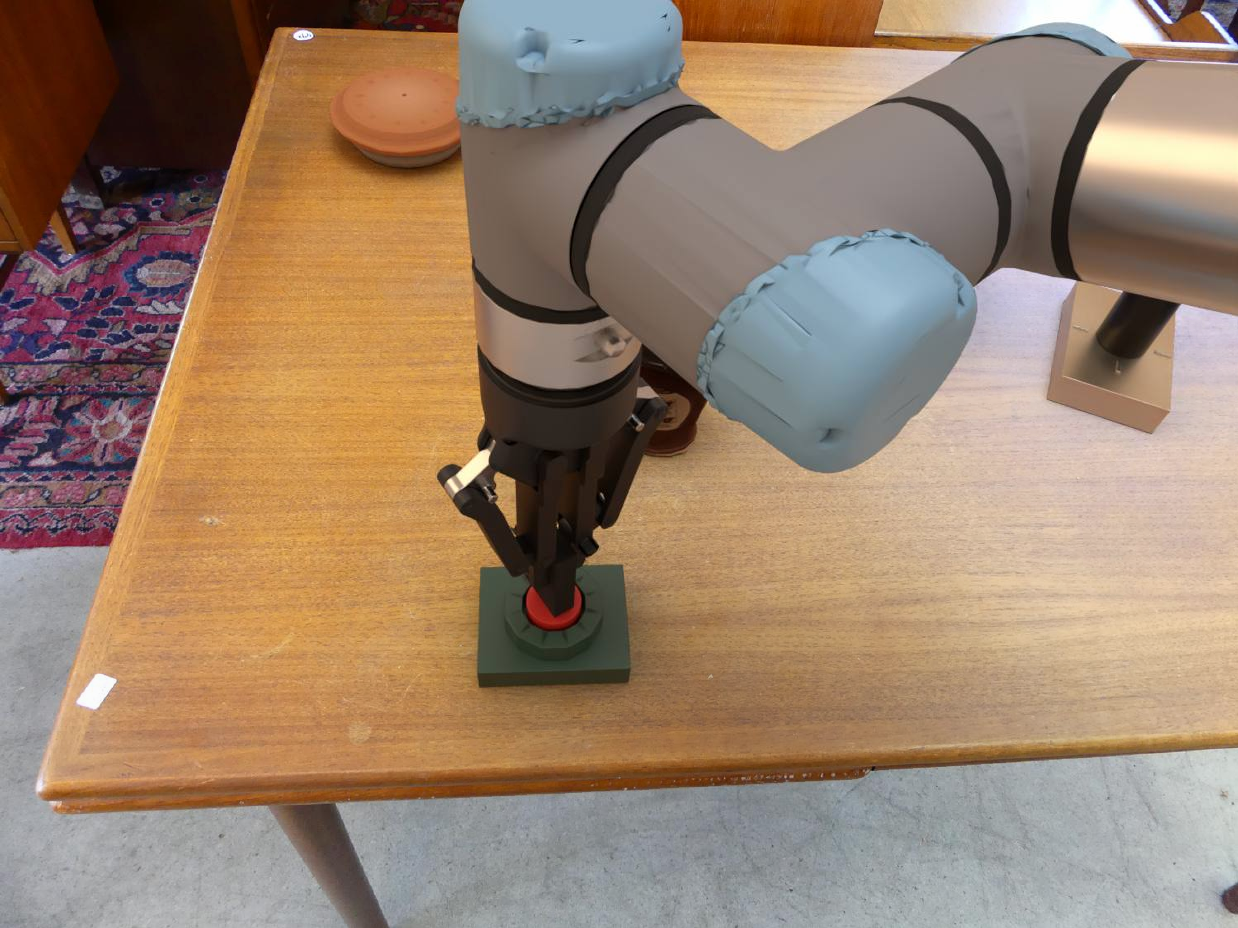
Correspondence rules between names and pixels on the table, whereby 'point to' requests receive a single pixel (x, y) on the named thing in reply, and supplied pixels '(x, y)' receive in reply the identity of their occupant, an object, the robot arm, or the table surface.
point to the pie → (400, 116)
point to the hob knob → (1134, 324)
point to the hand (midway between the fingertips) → (553, 596)
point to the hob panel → (1109, 365)
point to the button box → (553, 633)
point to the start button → (544, 618)
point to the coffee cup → (671, 406)
